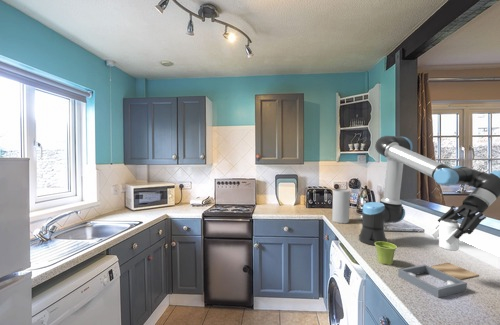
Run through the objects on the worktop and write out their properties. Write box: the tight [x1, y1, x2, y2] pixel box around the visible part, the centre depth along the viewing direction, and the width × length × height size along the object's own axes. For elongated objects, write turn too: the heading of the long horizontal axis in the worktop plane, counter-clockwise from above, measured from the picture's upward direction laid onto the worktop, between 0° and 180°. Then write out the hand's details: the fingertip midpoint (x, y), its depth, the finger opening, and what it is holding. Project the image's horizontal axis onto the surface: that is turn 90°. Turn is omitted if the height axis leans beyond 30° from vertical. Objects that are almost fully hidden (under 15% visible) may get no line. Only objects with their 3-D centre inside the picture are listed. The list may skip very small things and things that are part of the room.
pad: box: [430, 262, 480, 281], centre depth 106 cm, size 12×12×1 cm
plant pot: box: [375, 241, 398, 266], centre depth 114 cm, size 9×9×9 cm
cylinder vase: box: [331, 188, 351, 224], centre depth 185 cm, size 12×12×25 cm
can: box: [438, 219, 460, 252], centre depth 100 cm, size 6×6×12 cm
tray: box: [397, 264, 468, 298], centre depth 95 cm, size 16×16×3 cm
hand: (440, 239), depth 100 cm, fingers closed on can, 6 cm apart
